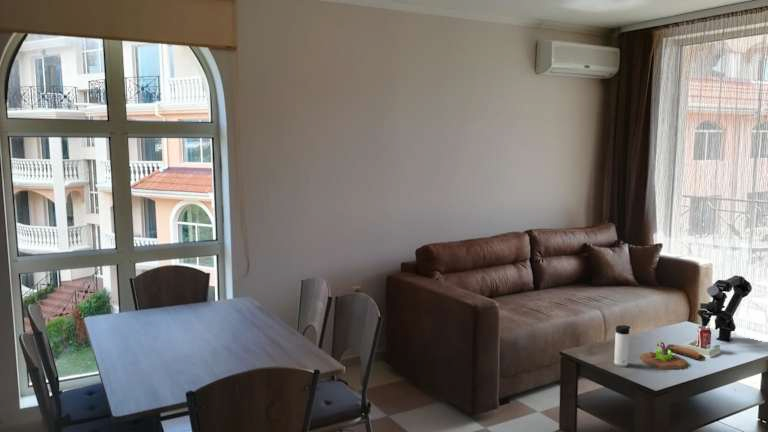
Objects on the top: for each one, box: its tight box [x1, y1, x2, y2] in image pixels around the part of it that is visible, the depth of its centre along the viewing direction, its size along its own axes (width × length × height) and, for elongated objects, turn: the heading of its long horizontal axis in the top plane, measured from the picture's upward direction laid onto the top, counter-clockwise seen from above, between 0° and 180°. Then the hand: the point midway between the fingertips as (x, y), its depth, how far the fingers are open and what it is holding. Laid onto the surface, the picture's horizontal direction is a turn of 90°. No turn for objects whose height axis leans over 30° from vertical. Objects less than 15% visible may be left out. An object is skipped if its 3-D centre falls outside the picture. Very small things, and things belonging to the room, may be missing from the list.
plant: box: [639, 341, 689, 371], centre depth 292 cm, size 20×20×11 cm
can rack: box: [682, 338, 722, 359], centre depth 308 cm, size 13×14×4 cm
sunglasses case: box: [665, 343, 707, 361], centre depth 304 cm, size 18×7×7 cm
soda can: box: [695, 325, 712, 350], centre depth 307 cm, size 7×7×12 cm
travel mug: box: [613, 324, 631, 368], centre depth 288 cm, size 6×7×20 cm
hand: (709, 329), depth 313 cm, fingers open, 9 cm apart
